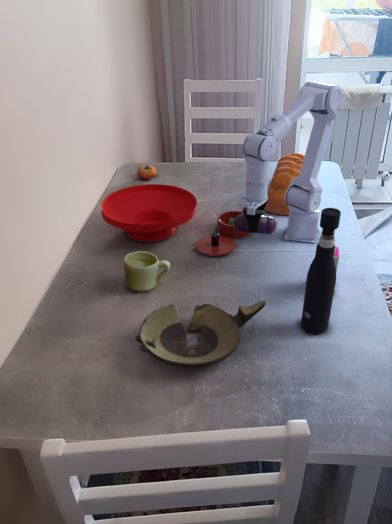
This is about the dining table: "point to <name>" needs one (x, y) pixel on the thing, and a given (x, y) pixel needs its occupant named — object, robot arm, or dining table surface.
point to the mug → (143, 270)
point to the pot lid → (215, 245)
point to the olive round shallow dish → (205, 319)
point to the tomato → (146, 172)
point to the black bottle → (321, 277)
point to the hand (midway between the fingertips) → (255, 227)
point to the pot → (227, 229)
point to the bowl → (149, 210)
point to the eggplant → (265, 226)
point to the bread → (283, 182)
